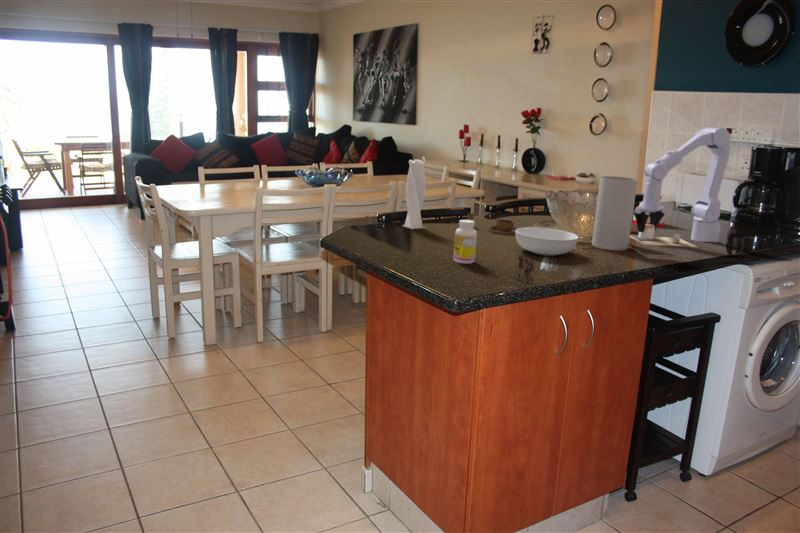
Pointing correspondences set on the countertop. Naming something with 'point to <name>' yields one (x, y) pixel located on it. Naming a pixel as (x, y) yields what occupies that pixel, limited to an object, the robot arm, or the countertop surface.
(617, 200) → the cylinder vase
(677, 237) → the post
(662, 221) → the white red spiked dome
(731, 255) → the countertop surface
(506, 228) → the place setting
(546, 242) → the serving bowl
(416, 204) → the skyscraper
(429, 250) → the countertop surface
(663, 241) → the board
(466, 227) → the supplement bottle
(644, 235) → the brown egg in cup
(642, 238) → the pad
